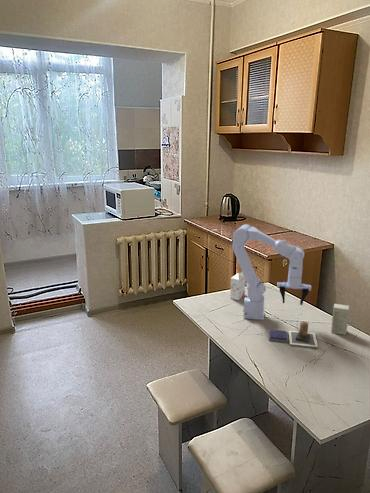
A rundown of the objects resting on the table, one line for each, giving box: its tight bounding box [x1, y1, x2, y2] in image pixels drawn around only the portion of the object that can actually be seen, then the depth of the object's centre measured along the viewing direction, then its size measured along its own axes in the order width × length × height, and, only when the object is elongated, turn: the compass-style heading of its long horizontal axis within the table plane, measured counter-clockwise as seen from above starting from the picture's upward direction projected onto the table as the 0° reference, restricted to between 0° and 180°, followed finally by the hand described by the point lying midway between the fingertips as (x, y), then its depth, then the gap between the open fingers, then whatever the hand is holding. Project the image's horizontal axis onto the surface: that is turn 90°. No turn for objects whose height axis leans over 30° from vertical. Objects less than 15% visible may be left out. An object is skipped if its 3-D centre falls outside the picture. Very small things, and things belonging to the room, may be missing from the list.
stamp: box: [296, 321, 310, 343], centre depth 155 cm, size 5×5×7 cm
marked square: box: [287, 330, 319, 349], centre depth 156 cm, size 11×11×1 cm
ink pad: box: [267, 329, 289, 344], centre depth 158 cm, size 8×7×2 cm
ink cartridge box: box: [230, 271, 246, 301], centre depth 196 cm, size 9×5×15 cm, turn 148°
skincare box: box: [330, 303, 350, 336], centre depth 161 cm, size 6×4×12 cm
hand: (292, 303), depth 168 cm, fingers open, 7 cm apart
